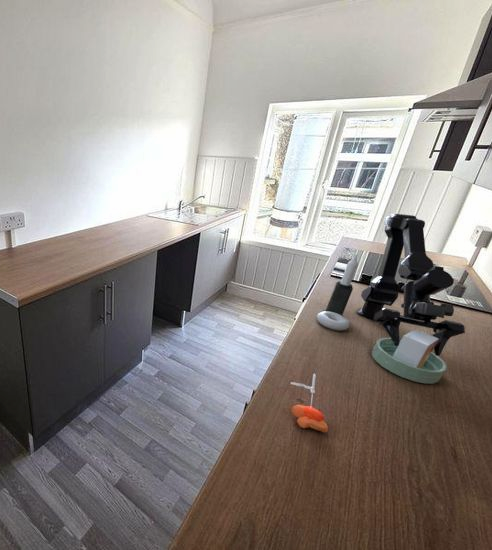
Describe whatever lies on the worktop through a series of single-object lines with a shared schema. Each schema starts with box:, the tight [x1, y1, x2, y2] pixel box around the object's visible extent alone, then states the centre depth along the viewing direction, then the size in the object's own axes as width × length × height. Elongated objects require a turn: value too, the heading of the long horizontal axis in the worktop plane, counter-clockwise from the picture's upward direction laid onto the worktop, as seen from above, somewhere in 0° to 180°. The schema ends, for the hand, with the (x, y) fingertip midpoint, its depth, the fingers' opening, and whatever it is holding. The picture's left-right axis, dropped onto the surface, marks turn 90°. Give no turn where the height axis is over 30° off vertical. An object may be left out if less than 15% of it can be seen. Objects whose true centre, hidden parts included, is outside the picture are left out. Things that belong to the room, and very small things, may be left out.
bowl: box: [371, 337, 447, 385], centre depth 87 cm, size 15×15×4 cm
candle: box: [325, 253, 359, 316], centre depth 109 cm, size 5×5×25 cm
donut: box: [316, 310, 350, 332], centre depth 107 cm, size 10×4×10 cm
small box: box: [393, 328, 439, 368], centre depth 85 cm, size 8×6×10 cm
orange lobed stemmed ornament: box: [290, 373, 329, 433], centre depth 66 cm, size 6×10×12 cm, turn 39°
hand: (416, 350), depth 84 cm, fingers open, 9 cm apart
